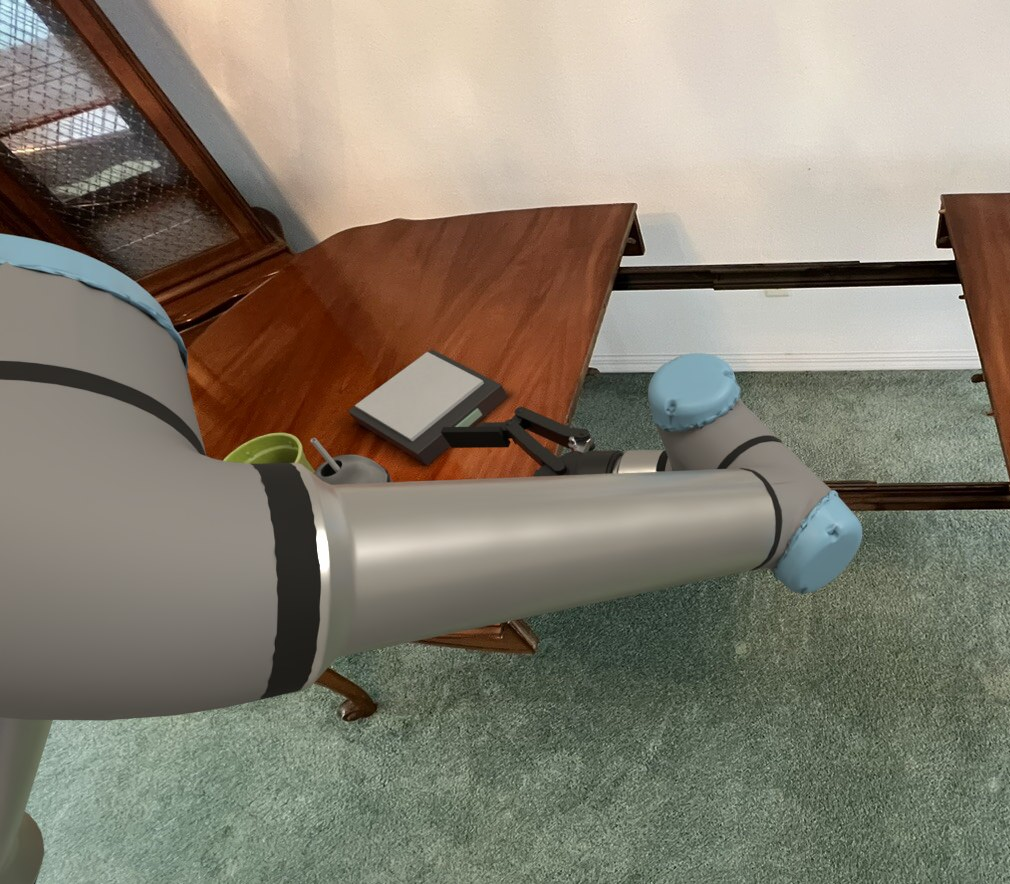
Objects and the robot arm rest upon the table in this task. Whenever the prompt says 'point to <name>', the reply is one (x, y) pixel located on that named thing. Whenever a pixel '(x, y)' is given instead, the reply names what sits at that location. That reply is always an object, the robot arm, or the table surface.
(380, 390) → the scale
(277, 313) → the table surface
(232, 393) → the table surface
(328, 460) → the beverage cup
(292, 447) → the plant pot
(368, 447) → the table surface
